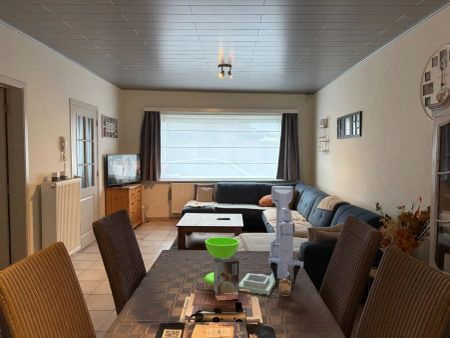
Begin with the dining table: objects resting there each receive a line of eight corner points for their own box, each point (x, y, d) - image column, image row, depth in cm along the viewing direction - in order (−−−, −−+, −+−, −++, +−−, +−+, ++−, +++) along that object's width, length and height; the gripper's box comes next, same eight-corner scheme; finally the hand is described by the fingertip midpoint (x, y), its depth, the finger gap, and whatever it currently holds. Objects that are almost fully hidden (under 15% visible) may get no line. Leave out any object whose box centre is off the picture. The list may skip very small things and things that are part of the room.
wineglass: (235, 286, 160) (236, 246, 160) (200, 283, 164) (201, 244, 163) (240, 274, 176) (241, 238, 175) (209, 272, 179) (209, 236, 178)
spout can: (279, 291, 156) (280, 276, 156) (291, 292, 155) (291, 278, 154) (277, 295, 152) (278, 280, 151) (289, 297, 150) (290, 281, 150)
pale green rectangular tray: (247, 277, 173) (248, 269, 173) (276, 281, 168) (277, 272, 168) (236, 290, 156) (237, 281, 156) (268, 295, 151) (269, 286, 151)
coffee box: (234, 293, 152) (235, 256, 152) (238, 299, 146) (239, 260, 145) (213, 295, 150) (213, 257, 149) (216, 302, 144) (217, 262, 143)
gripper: (267, 250, 151) (266, 282, 151) (302, 254, 146) (301, 287, 147) (270, 246, 158) (269, 277, 158) (304, 250, 153) (303, 281, 153)
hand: (285, 281), depth 153 cm, fingers open, 7 cm apart
